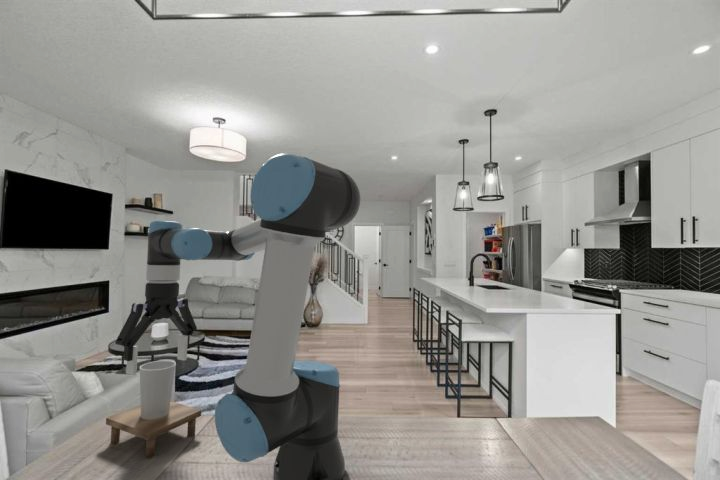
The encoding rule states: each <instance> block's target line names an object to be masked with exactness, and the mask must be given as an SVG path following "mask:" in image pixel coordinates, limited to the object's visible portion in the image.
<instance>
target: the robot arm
mask: <svg viewBox="0 0 720 480" xmlns="http://www.w3.org/2000/svg"><path fill="white" fill-rule="evenodd" d="M249 198H250V203H251V204H252V210H253V212H254V213H255V214H256V216H258V217H259V218H258V219H256V220H254V221H251V222H249V223H247V224H245V225H242V226H240V227H238V228H235V229H233V230H230V231H222V230H211V229H210V230H208V229H202V228H199V227H184V228H183V225H182V223H181V222H178V221H172V220H171V221H170V220H153V221H151V222H150V223H149V226H148V228H149V229H148V233H147V254H146V255H147V256H146V257H147V260H146V272H145V273H146V275H145V277H146V281H147V282H146V283H145V287H144V288H145V289H144V296H145V302H144V303H138V302H133V303H132V304H131V309H130V313H129V315H128V317H127V319H126V321H125V323H124V325H123V326H122V329H121V330H120V332H119V334H118V336H117V338H116V340H115V344H116V345H117V346H118V345H119V346H122V347H123V348H124V349H123V360H124V361H125V362H126V363H125V364H126V367H125V368H126V369H125V374H127V375H131V376H135V375H137V370H138V368H137V367H138V354H139V351H138V350H139V346H138V345H136V344H137V343H138V341H139V340H140V339H141V337H142V336H143V335H144V333H145V332H146V331H147V330H148V328H149V327H150V326H151V325H152V323H154V322H155V321H156V320H162V319H170V321H171V322H172V323H173V325H175V327H176V328H177V329H178V331H180V334H177V335H178V336H177V337H178V338H177V356H176V358H177V360H179V361H184V362H185V361H187V359H188V357H187V356H188V347H189V345H190V338H191V337H190V336H192V335H193V334H194V332H196V331H197V325H196V322H195V320H194V318H193V315H192V313H191V310H190V306H189V299H188V298H184V297H180V298H178V297H179V295H180V293H179V292H180V283H179V281H180V279H181V278H180V277H181V260H184V261H199V260H201V261H203V260H204V261H206V260H207V261H209V260H210V261H211V260H212V261H217V260H218V261H236V262H237V261H238V262H239V261H240V262H241V261H246V260H247V261H248V260H250V259H252V258H253V256H254V255H256V253H257V252H261V251H263V250H264V253H263V254H264V255H263V261H262V266H261V273H260V277H259V279H260V280H259V283H258V291H257V297H256V302H255V309H254V314H253V315H254V316H253V322H252V327H251V332H250V338H249V346H248V351H247V355H246V364H245V366H244V367H242V368H241V369H239V371H237V372H236V374H235V376H234V382H233V383H234V384H233V386H232V387H233V388H232V392H231V393H225V394H224V395H223V396H222V397H221V398H220V399H219V400H218V401H217V403H216V406H215V411H214V424H215V428H216V429H215V430H216V432H217V436H218V438H219V441H220V443H221V445H222V447H223V448H224V450H225V451H226V452H227V454H228V455H229V456H230V457H231V458H233V459H234V460H236V461H237V462H240V463H249V462H252V461H255V460H257V459H259V458H264V457H265V456H267V454H268V453H271V452H272V451H274V450H276V449H278V448H279V449H278V450H277V451H278V452H277V455H276V457H275V459H274V463H273V474H272V475H273V480H341V479H342V478H343V476H344V477H345V473H344V472H346V471H345V469H346V467H345V466H346V462H345V457H344V453H343V451H342V446H341V443H340V440H339V439H340V438H339V436H338V435H339V434H338V433H339V431H338V429H339V404H340V388H341V385H340V372H339V370H338V368H337V367H336V366H334V365H332V364H330V363H326V362H323V361H322V362H321V361H314V360H313V361H312V360H296V356H297V350H298V344H299V339H300V333H301V327H302V321H303V315H304V311H305V305H306V304H305V303H306V298H307V293H308V286H309V281H310V275H311V270H312V265H313V258H314V251H315V247H316V246H317V245H318V244H319V243H321V242H322V241H323V240H325V238H326V233H328V232H330V231H334V230H337V229H340V228H343V227H345V226H347V225H349V223H350V222H352V221H353V220H354V218H356V216H357V214H358V213H359V210H360V207H361V193H360V189H359V187H358V185H357V182H356V181H355V180H354V178H353V177H352V176H350V175H349V174H348V173H346V172H344V171H342V170H341V169H338V168H334V167H331V166H328V165H326V164H324V163H321V162H319V161H315V160H313V159H310V158H308V157H305V156H301V155H297V154H296V155H295V154H292V153H279V154H276V155H273V156H272V157H270V158H268V160H267V161H266V162H265V163H263V164H262V165H261V166H260V167H259V169H258V171H257V172H256V174H255V176H254V178H253V180H252V183H251V188H250V197H249ZM177 307H178V310H177ZM178 311H179V312H178ZM143 312H144V313H143ZM142 314H143V315H142ZM343 479H344V478H343Z"/></svg>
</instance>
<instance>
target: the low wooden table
mask: <svg viewBox="0 0 720 480" xmlns="http://www.w3.org/2000/svg"><path fill="white" fill-rule="evenodd" d="M201 416H202V409H200V408H196V407H192V406H189V405H185V404H182V403H179V402H175V401H172V400H171V402H170V412H169V414H168V415H166V416H164V417H161V418H158V419H152V420H146V419H142V418H141V404H140V405H137V406H134V407H131V408H129V409H127V410H124V411H121V412H118V413H115V414H113V415H111V416H108V417H106V418H105V425H106V426H109V427H111V428H110V431H111V432H110V444H111V445H115V444H118V443H120V439H121V431H123V432H126V433H128V434H132V435H134V436H136V437H139V438H141V439H144V440H145V456H144V457H145V459H152V458H154V457H155V455H156V453H155V451H156V438H157V437H159V436H161V435H163V434H166V433H168V432H170V431H172V430H175V429H176V428H179V427H180V426H183V425H185V424H187V431H186V432H187V433H186V435H187V437H189V438H191V437H194V436H195V435H196V420H197V418H199V417H201Z"/></svg>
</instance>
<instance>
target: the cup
mask: <svg viewBox="0 0 720 480" xmlns="http://www.w3.org/2000/svg"><path fill="white" fill-rule="evenodd" d="M176 365H177V363H176V361H172V360H156V361H150V362H146V363H144V364H142V365H140V366H139V388H140V389H139V390H140V405H141V418H142V419H146V420H152V419H158V418H161V417H164V416H166V415H168V414H169V412H170V402H171V401H172V394H173V393H172V392H173V386H174V378H175V373H176Z"/></svg>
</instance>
